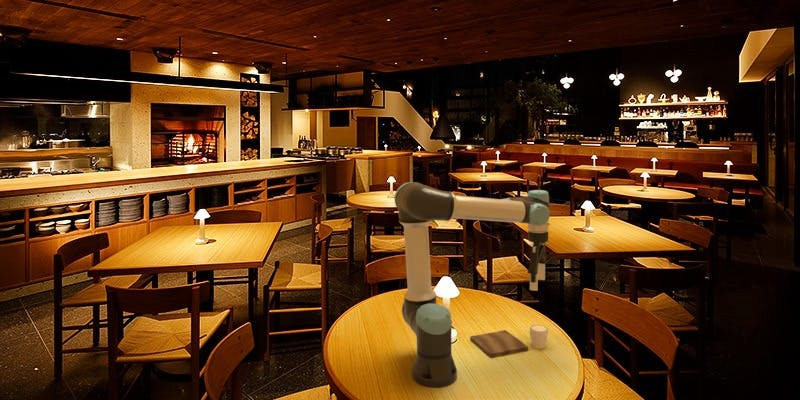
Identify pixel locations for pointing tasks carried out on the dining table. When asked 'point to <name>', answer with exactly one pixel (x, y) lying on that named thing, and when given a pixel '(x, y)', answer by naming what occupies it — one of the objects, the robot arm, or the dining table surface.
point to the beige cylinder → (538, 336)
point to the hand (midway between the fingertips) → (537, 284)
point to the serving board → (498, 343)
